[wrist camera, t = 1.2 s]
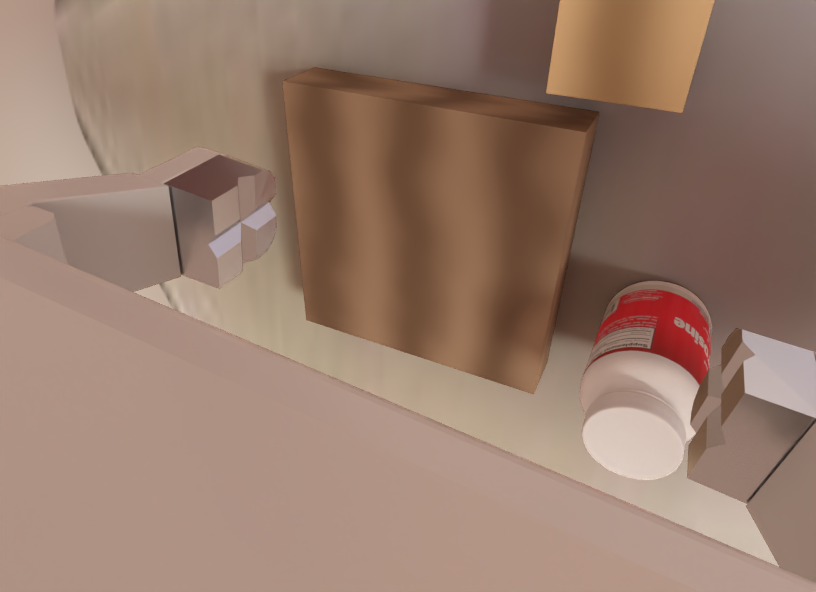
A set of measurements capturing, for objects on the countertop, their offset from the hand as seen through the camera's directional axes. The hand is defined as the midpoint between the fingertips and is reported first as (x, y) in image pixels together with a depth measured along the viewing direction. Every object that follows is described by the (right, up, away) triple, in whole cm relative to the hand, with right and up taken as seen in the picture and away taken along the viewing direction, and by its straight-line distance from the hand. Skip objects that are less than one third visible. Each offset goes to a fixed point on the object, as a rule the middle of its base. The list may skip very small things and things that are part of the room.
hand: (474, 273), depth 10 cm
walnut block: (+1, +5, +30) cm, 31 cm away
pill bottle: (+14, -2, +27) cm, 30 cm away
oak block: (+10, +13, +18) cm, 25 cm away
